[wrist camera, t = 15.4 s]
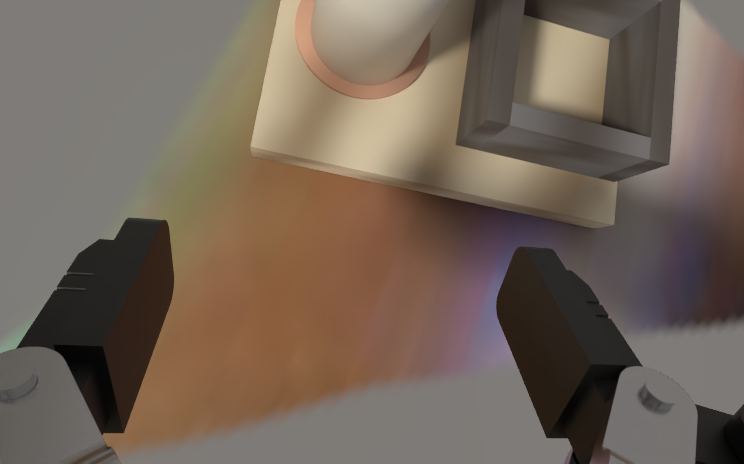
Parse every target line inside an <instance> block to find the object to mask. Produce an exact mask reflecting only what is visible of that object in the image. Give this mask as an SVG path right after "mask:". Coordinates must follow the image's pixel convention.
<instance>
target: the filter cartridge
mask: <svg viewBox="0 0 744 464" xmlns="http://www.w3.org/2000/svg"><path fill="white" fill-rule="evenodd" d="M448 1H449V0H315V1H314V7H313V13H312V20H311V38H312V42H313V46H314V48H315V51H316V53H317V55H318V56H319V58H320V60H321V61H322V62H323V63H324V65H325V66H326V67H327V68H328V69H329V70H330V71H331V72H333V73H334V74H335V75H337V76H338V77H340V78H342V79H344V80H346V81H348V82H351V83H354V84H359V85H367V86H372V85H380V84H384V83H387V82H390V81H392V80H393V79H395V78H397V77H398V76H399V75H401V74H402V73H403V72H404V71H405V70H406V68H407V67H408V66H409V64H410V63H411V61H412V59H413V58H414V56H415V55H416V53H417V51H418V50H419V48H420V46H421V45H422V43H423V42H424V40H425V38H426V37H427V35H428V33H429V32H430V30H431V28H432V27H433V25H434V24H435V22H436V20H437V19H438V17H439V15H440V14H441V12H442V11H443V9H444V7H445V6H446V4H447V2H448Z"/></svg>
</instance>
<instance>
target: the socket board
mask: <svg viewBox="0 0 744 464" xmlns="http://www.w3.org/2000/svg"><path fill="white" fill-rule="evenodd" d="M314 1H315V0H281V3H280V7H279V12H278V17H277V22H276V27H275V31H274V36H273V41H272V46H271V51H270V55H269V60H268V65H267V70H266V74H265V79H264V84H263V89H262V94H261V98H260V103H259V108H258V113H257V118H256V122H255V127H254V132H253V137H252V141H251V146H250V147H251V155H252V156H254V157H258V158H263V159H268V160H273V161H277V162H282V163H287V164H291V165H296V166H301V167H306V168H310V169H315V170H320V171H324V172H329V173H334V174H338V175H343V176H348V177H353V178H357V179H362V180H367V181H371V182H376V183H381V184H386V185H390V186H395V187H400V188H404V189H409V190H414V191H419V192H423V193H428V194H433V195H437V196H442V197H447V198H452V199H456V200H461V201H466V202H470V203H475V204H480V205H484V206H489V207H494V208H499V209H503V210H508V211H513V212H517V213H522V214H527V215H532V216H536V217H541V218H546V219H550V220H555V221H560V222H565V223H569V224H574V225H579V226H583V227H588V228H593V229H597V228H602V227H607V226H612V225H614V221H615V209H616V197H617V185H618V181H619V180H622V179H625V178H628V177H632V176H635V175H638V174H641V173H644V172H647V171H650V170H653V169H656V168H660V167H663V166H666V165H669V158H670V144H671V129H672V114H673V100H674V85H675V71H676V56H677V41H678V27H679V12H680V0H449V1H448V2H447V4H446V6H445V7H444V9H443V11H442V12H441V14H440V15H439V17H438V19H437V20H436V22H435V24H434V25H433V27H432V28H431V30H430V32H429V33H428V35H427V37H426V38H425V40H424V42H423V43H422V45H421V46H420V48H419V50H418V51H417V53H416V55H415V56H414V58H413V59H412V61H411V63H410V64H409V66H408V67H407V68H406V70H405V71H404V72H403V73H402V74H401V75H399V76H398V77H397V78H395V79H393V80H392V81H390V82H387V83H384V84H380V85H372V86H367V85H359V84H354V83H351V82H348V81H346V80H344V79H342V78H340V77H338V76H337V75H335V74H334V73H333V72H331V71H330V70H329V69H328V68H327V67H326V66H325V65H324V63H323V62H322V61H321V60H320V58H319V56H318V55H317V53H316V51H315V48H314V46H313V42H312V38H311V20H312V13H313V7H314Z"/></svg>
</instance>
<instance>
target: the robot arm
mask: <svg viewBox="0 0 744 464" xmlns="http://www.w3.org/2000/svg"><path fill="white" fill-rule="evenodd" d="M173 288H174V271H173V262H172V253H171V243H170V234H169V226H168V223H167V221H166V220H155V219H141V218H128V219H126V221H125V222H124V224H123V226H122V227H121V229H120V231H119V233H118V234H117V236H116V238H115V239H114V240H103V239H99V240H98V241H96V242H95V243H93V244H92V245H91V246H89V247H88V248H86V249H85V250H83V251H82V252H81V253H79V254H78V255H77V257H76V258H75V260H74V262H73V263H72V265H71V266H70V268H69V269H68V271H67V275H64V277H63V278H62V280H61V281H60V283H59V284H58V286H57V290H55V291H54V292H53V293H52V295H51V296H50V298H49V300H48V301H47V303H46V304H45V306H44V307H43V309H42V310H41V312H40V313H39V315H38V316H37V318H36V319H35V321H34V322H33V324H32V325H31V327H30V328H29V330H28V331H27V333H26V334H25V336H24V337H23V339H22V341H21V342H20V344H19V345H18V347H17V348H16V349H13V350H9V351H6V352H3V353H1V354H0V464H121V462H120V460H119V458H118V456H117V455H116V453H115V451H114V450H113V448H112V447H109V448H108V446H107V445H106V443H105V441H104V439H103V437H102V435H103V433H124V431H125V428H126V425H127V423H128V420H129V417H130V414H131V411H132V409H133V406H134V403H135V400H136V398H137V395H138V392H139V389H140V386H141V384H142V381H143V378H144V375H145V373H146V370H147V367H148V364H149V362H150V359H151V356H152V353H153V350H154V348H155V345H156V342H157V339H158V337H159V334H160V331H161V328H162V325H163V323H164V320H165V317H166V314H167V312H168V309H169V306H170V303H171V300H172V295H173ZM496 309H497V316H498V320H499V322H500V325H501V327H502V330H503V332H504V335H505V337H506V339H507V342H508V344H509V347H510V349H511V352H512V354H513V357H514V359H515V361H516V364H517V366H518V369H519V371H520V374H521V376H522V378H523V381H524V384H525V386H526V388H527V391H528V393H529V396H530V398H531V401H532V403H533V406H534V408H535V410H536V413H537V415H538V417H539V420H540V423H541V425H542V427H543V430H544V432H545V435H546V437H547V438H568V439H569V441H570V444H571V446H572V448H571V450H570V451H569V452H568V454H567V457H566V459H565V463H564V464H744V405H743V406H742V407H741V408H740V409H739V410H738V411H737V412H736V413H735V415H730V414H726V413H723V412H719V411H716V410H713V409H709V408H706V407H703V406H699V405H696V404H694V402H693V400H692V398H691V397H690V395H689V394H688V393H687V392H686V391H685V390H684V389H683V388H682V387H681V386H680V385H679V384H678V383H677V382H675V381H674V380H673V379H671V378H670V377H668V376H666V375H664V374H663V373H661V372H658V371H656V370H654V369H650V368H646V367H643V366H642V365H641V363H640V362H639V360H638V359H637V357H636V356H635V354H634V353H633V351H632V350H631V348H630V347H629V345H628V344H627V342H626V341H625V339H624V338H623V336H622V335H621V333H620V332H619V330H618V329H617V327H616V326H615V324H614V323H613V321H612V320H611V319H609V318H608V314H607V312H606V311H605V309H604V308H603V306H602V305H599V300H598V299H597V297H596V296H595V294H594V293H593V291H592V290H591V288H590V287H589V285H587V284H586V283H585V282H584V281H583V280H582V279H580V278H579V277H578V276H577V275H576V274H574V273H573V272H572V271H569V270H566V269H565V267H564V266H563V264H562V262H561V261H560V259H559V258H558V256H557V255H556V253H555V252H554V251H553V250H552V249H548V248H534V247H519V248H517V249H516V251H515V252H514V255H513V257H512V260H511V262H510V265H509V267H508V270H507V273H506V275H505V278H504V280H503V283H502V285H501V288H500V290H499V293H498V297H497V304H496Z"/></svg>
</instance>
